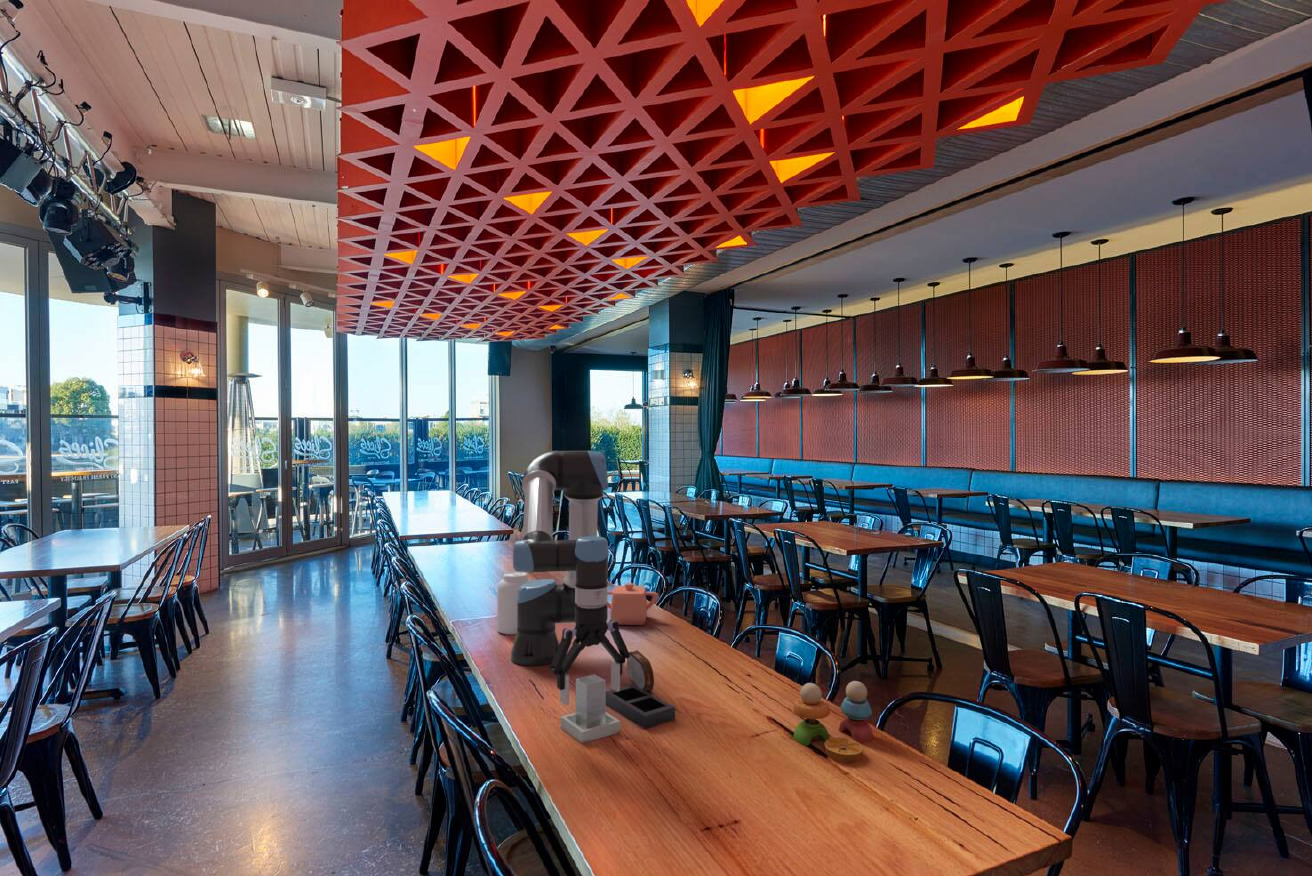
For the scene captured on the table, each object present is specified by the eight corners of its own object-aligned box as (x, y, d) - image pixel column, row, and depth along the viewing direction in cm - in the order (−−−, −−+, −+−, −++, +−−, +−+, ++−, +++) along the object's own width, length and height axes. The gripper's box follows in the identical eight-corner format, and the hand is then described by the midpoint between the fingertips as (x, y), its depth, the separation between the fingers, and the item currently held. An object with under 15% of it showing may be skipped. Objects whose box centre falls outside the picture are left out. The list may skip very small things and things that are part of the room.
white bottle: (540, 628, 232) (541, 572, 232) (515, 637, 222) (515, 578, 222) (514, 623, 239) (515, 568, 239) (489, 631, 228) (489, 574, 229)
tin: (655, 695, 173) (655, 663, 173) (643, 696, 172) (644, 664, 172) (635, 675, 187) (635, 646, 187) (624, 677, 186) (625, 647, 186)
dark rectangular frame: (603, 703, 167) (603, 691, 167) (633, 695, 172) (633, 684, 172) (644, 729, 152) (644, 716, 152) (675, 719, 157) (675, 707, 157)
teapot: (658, 627, 236) (658, 588, 236) (597, 626, 236) (597, 587, 236) (658, 612, 256) (659, 577, 256) (602, 612, 256) (602, 576, 256)
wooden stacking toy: (837, 769, 134) (837, 708, 134) (785, 735, 150) (786, 680, 150) (901, 752, 142) (902, 694, 142) (847, 721, 158) (847, 669, 158)
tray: (560, 727, 153) (560, 716, 153) (597, 717, 158) (597, 706, 158) (582, 743, 144) (582, 732, 144) (620, 732, 150) (620, 721, 150)
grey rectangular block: (575, 726, 152) (576, 678, 152) (594, 720, 155) (594, 674, 155) (586, 734, 148) (586, 685, 148) (605, 728, 151) (605, 680, 151)
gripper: (550, 616, 141) (549, 714, 141) (644, 600, 156) (643, 689, 156) (534, 608, 147) (534, 703, 147) (627, 594, 162) (626, 680, 162)
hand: (590, 696), depth 151 cm, fingers open, 13 cm apart
